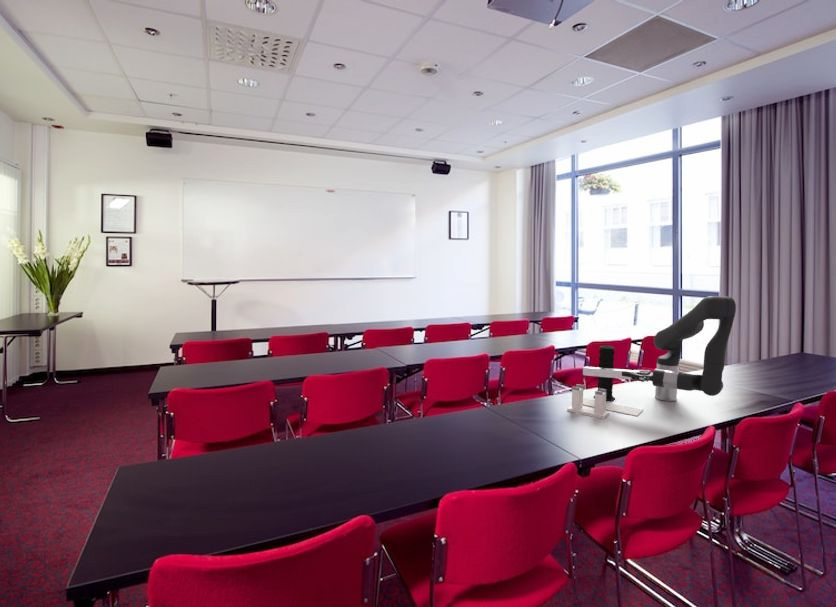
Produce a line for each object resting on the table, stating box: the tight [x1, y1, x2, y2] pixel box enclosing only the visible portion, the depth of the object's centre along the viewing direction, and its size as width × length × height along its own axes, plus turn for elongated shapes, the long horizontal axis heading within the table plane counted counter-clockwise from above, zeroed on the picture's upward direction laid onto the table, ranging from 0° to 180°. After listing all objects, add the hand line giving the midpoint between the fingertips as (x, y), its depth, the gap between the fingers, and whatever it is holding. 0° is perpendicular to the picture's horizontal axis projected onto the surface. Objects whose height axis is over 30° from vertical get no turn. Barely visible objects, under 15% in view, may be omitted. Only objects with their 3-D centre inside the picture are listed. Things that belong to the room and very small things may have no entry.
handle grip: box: [593, 344, 616, 402], centre depth 220 cm, size 10×26×10 cm
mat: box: [583, 397, 644, 417], centre depth 209 cm, size 10×28×1 cm, turn 50°
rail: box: [582, 366, 640, 381], centre depth 207 cm, size 24×4×4 cm, turn 50°
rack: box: [567, 383, 610, 420], centre depth 200 cm, size 7×16×11 cm, turn 50°
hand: (623, 372), depth 203 cm, fingers closed on rail, 3 cm apart
